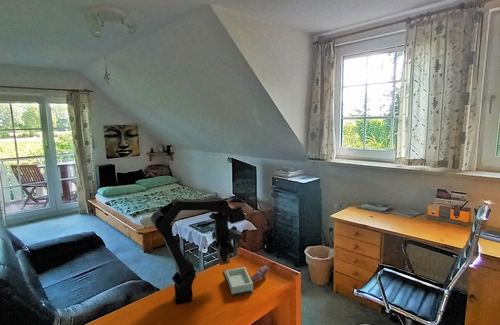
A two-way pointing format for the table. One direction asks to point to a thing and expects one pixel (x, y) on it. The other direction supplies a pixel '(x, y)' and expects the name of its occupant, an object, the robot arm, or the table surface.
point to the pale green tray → (239, 280)
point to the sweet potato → (260, 274)
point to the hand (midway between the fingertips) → (223, 259)
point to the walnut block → (222, 260)
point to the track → (240, 292)
